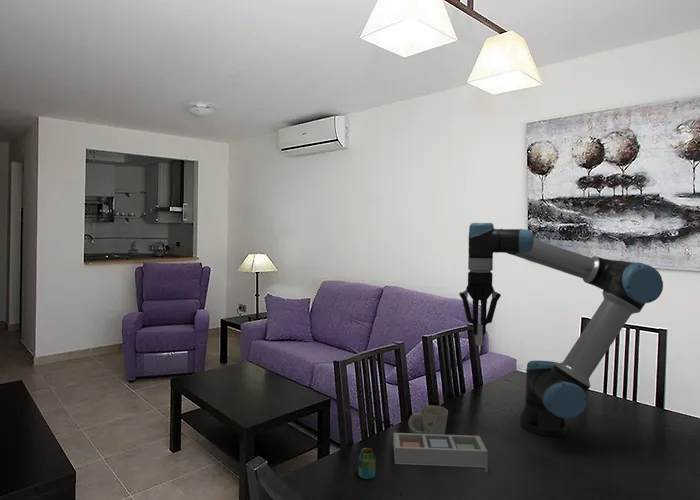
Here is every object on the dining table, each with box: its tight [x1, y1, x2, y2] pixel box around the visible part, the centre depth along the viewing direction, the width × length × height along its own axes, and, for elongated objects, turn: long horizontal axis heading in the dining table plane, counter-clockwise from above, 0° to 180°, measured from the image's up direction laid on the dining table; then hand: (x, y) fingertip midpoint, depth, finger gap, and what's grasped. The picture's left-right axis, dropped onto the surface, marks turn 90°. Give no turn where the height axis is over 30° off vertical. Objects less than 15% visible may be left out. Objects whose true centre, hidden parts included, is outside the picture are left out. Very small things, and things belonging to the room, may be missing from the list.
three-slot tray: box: [392, 432, 489, 473], centre depth 138 cm, size 26×11×6 cm, turn 88°
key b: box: [429, 439, 449, 448], centre depth 138 cm, size 5×5×2 cm
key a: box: [456, 444, 475, 449], centre depth 137 cm, size 5×5×2 cm
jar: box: [357, 447, 377, 480], centre depth 127 cm, size 5×5×8 cm
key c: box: [402, 442, 420, 447], centre depth 138 cm, size 5×5×2 cm
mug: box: [407, 405, 449, 435], centre depth 151 cm, size 8×13×10 cm, turn 78°
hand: (478, 344), depth 150 cm, fingers closed
